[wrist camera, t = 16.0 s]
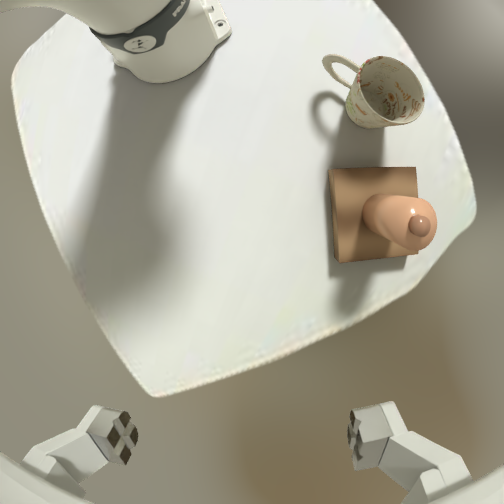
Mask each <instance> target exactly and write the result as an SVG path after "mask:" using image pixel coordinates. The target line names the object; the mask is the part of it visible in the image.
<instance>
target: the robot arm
mask: <svg viewBox="0 0 504 504" xmlns="http://www.w3.org/2000/svg"><path fill="white" fill-rule="evenodd" d="M24 7H49V8H55V9H58V10H60V11H63V12H65V13H67V14H69V15H71V16H73V17H75V18H76V19H78V20H80V21H81V22H83V23H85V24H86V25H88V26H89V28H90V30H91V32H92V33H93V34H94V35H95V36H96V37H97V38H98V39H99V40H100V41H101V43H102V45H103V46H104V47H105V48H106V49H107V50H108V51H109V52H110V53H111V54H112V55H113V56H114V57H113V61H114V63H115V64H116V65H118V66H120V67H124V68H127V69H129V70H130V71H131V72H132V73H133V74H134V75H135V76H136V77H137V78H139V79H141V80H143V81H146V82H150V83H166V82H171V81H174V80H177V79H180V78H182V77H184V76H186V75H188V74H190V73H191V72H193V71H194V70H196V69H197V68H198V67H199V66H201V65H202V64H203V63H204V62H205V61H206V59H207V58H208V57H209V55H210V54H211V52H212V51H213V49H214V48H215V47H216V46H217V44H219V43H220V42H222V41H223V40H225V39H226V38H227V37H229V36H230V34H231V32H232V30H231V27H230V25H229V22H228V20H227V18H226V15H225V13H224V11H223V8H222V6H221V4H220V2H219V0H0V13H3V12H6V11H10V10H14V9H18V8H24ZM219 25H223V26H219ZM130 419H131V417H130V415H129V414H128V412H126V411H121V410H116V409H111V408H107V407H102V406H98V405H94V406H92V407H91V409H90V410H89V411H88V413H87V414H86V416H85V417H84V418H83V420H82V421H81V422H80V424H79V425H78V426H77V428H76V429H71V430H69V431H67V432H64V433H62V434H60V435H58V436H56V437H54V438H51V439H49V440H47V441H45V442H42V443H40V444H38V445H36V446H33V447H32V449H31V450H30V451H29V453H28V454H27V455H26V457H25V458H24V459H23V461H22V462H21V463H20V465H19V464H18V463H16V462H15V461H13V460H12V459H10V458H9V457H7V456H6V455H5V454H3V453H2V452H0V504H95V503H93V502H90V501H88V500H85V499H83V498H84V496H85V494H86V492H85V490H84V489H83V488H82V487H81V486H80V485H79V483H80V482H82V481H83V480H85V479H86V478H87V477H89V476H90V475H92V474H93V473H94V472H96V471H97V470H99V469H100V468H101V467H103V466H104V465H106V464H107V463H108V461H110V462H113V463H117V464H122V465H126V464H127V462H128V460H129V458H130V456H131V451H130V449H131V448H133V447H135V446H136V443H137V441H138V431H137V428H136V426H135V425H134V424H132V423H131V422H130ZM350 421H351V423H349V424H348V430H347V431H348V434H347V437H348V444H349V448H350V449H352V450H353V454H352V461H353V465H354V469H355V471H357V470H362V469H367V468H372V467H377V466H378V467H379V468H380V469H381V470H382V471H383V472H385V473H386V474H387V475H388V476H389V477H391V478H392V479H393V480H394V481H396V482H397V483H398V484H400V485H401V486H402V487H403V488H404V489H406V490H407V491H408V492H409V493H408V494H407V496H406V497H405V499H404V500H403V501H402V503H401V504H504V464H502V465H501V466H499V467H498V468H496V469H494V470H493V471H491V472H490V473H488V474H486V475H485V476H483V477H481V478H480V479H478V480H476V481H473V479H472V477H471V475H470V473H469V471H468V469H467V467H466V465H465V464H464V462H463V460H462V458H461V456H460V455H458V454H455V453H453V452H451V451H449V450H447V449H445V448H443V447H441V446H439V445H437V444H435V443H433V442H432V441H430V440H428V439H426V438H424V437H422V436H420V435H419V434H417V433H415V432H413V431H410V432H408V430H407V428H406V426H405V424H404V422H403V420H402V418H401V416H400V413H399V411H398V409H397V407H396V405H395V403H394V402H393V401H390V402H386V403H381V404H377V405H372V406H367V407H363V408H357V409H352V410H351V412H350Z"/></svg>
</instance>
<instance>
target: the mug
mask: <svg viewBox="0 0 504 504" xmlns="http://www.w3.org/2000/svg"><path fill="white" fill-rule="evenodd" d="M333 62H338V63H342V64H344V65H346V66H347V67H349V68H350V69H352V70H353V71H355V72H356V73H357V75H356V77H355V80H354V82H353V84H352V85H351V84H349V83H348V82H347V81H345V80H344V79H343V78H341V77H340V76H339V75H338V74H337V73H336V72H335V71H334V70H333V68H332V65H331V64H332V63H333ZM322 63H323V66H324V68H325V69H326V71H327V72H328V73H329V74H330V75H331V76H332V77H333V78H334V79H335V80H336V81H338V82H339V83H341V84H343V85H344V86H346V87H348V88H350V91H349V94H348V96H347V99H346V104H345V106H346V111H347V114H348V116H349V117H350V119H351V120H352V121H353V122H354V123H355V124H357V125H358V126H360V127H363V128H367V129H372V128H380V127H388V126H396V125H404V124H408V123H410V122H412V121H414V120H416V119H417V118H418V117H419V115H420V114H421V112H422V110H423V107H424V92H423V88H422V86H421V83H420V81H419V80H418V78H417V76H416V75H415V74H414V73H413V71H412V70H411V69H410V68H409V67H407V66H406V65H405V64H403V63H402V62H400V61H398V60H396V59H394V58H391V57H386V56H377V57H373V58H370V59H368V60H367V61H365V62H364V63H363V64H362V66H361V67H360V66H358V65H357V64H355V63H354V62H352V61H351V60H349V59H347V58H346V57H344V56H341V55H336V54H329V55H326V56H324V57H323V60H322Z"/></svg>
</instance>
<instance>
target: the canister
mask: <svg viewBox="0 0 504 504" xmlns="http://www.w3.org/2000/svg"><path fill="white" fill-rule="evenodd" d="M362 217H363V221H364V223H365V225H366V227H367V228H368V229H369V230H371V231H372V232H374V233H376V234H378V235H380V236H382V237H384V238H386V239H388V240H390V241H392V242H394V243H396V244H398V245H400V246H402V247H404V248H406V249H408V250H411V251H418V250H421V249H423V248H425V247H426V246H428V245H429V244H430V242H431V241H432V240H433V238H434V236H435V233H436V229H437V218H436V214H435V211H434V209H433V207H432V206H431V205H430V204H429V203H428V202H427V201H425V200H423V199H420V198H414V197H406V196H399V195H390V194H381V193H379V194H374V195H372V196H371V197H369V198H368V199H367V201H366V202H365V204H364V206H363V210H362Z"/></svg>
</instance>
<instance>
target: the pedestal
mask: <svg viewBox="0 0 504 504" xmlns="http://www.w3.org/2000/svg"><path fill="white" fill-rule="evenodd" d="M328 173H329V183H330V194H331V206H332V220H333V236H334V257H335V258H336V260H337V261H338V262H339V263H344V262H354V261H363V260H372V259H380V258H389V257H398V256H406V255H414V254H418V251H411V250H408V249H406V248H404V247H402V246H400V245H398V244H396V243H394V242H392V241H390V240H388V239H386V238H384V237H382V236H380V235H378V234H376V233H374V232H372V231H371V230H369V229H368V228H367V227H366V225H365V223H364V221H363V217H362V210H363V206H364V204H365V202H366V201H367V199H368V198H369V197H371V196H372V195H374V194H379V193H381V194H390V195H399V196H406V197H414V198H418V189H417V175H416V167H371V168H345V169H331V170H328Z"/></svg>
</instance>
